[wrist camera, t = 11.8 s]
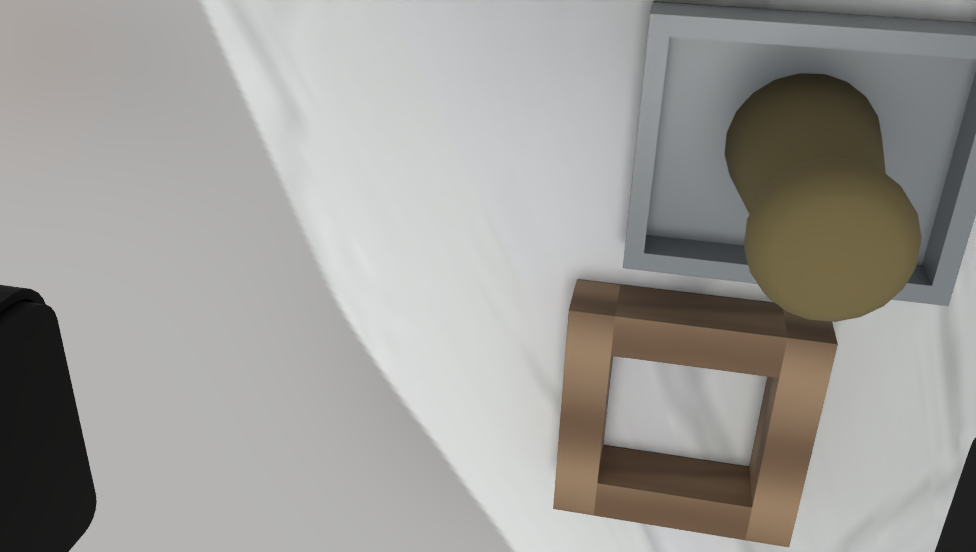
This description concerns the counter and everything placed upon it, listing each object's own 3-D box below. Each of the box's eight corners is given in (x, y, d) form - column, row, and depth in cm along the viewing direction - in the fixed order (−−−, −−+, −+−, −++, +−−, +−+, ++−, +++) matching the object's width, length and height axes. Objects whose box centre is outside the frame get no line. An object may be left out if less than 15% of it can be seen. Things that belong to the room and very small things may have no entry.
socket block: (577, 279, 42) (568, 310, 40) (828, 309, 40) (837, 344, 38) (561, 470, 47) (553, 508, 45) (784, 504, 45) (788, 547, 43)
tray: (653, 1, 36) (650, 13, 34) (1006, 24, 34) (1028, 39, 32) (627, 243, 41) (622, 268, 39) (934, 278, 39) (948, 306, 36)
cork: (914, 152, 36) (992, 275, 26) (788, 243, 39) (817, 385, 29) (816, 40, 35) (860, 126, 25) (693, 142, 38) (690, 254, 28)
